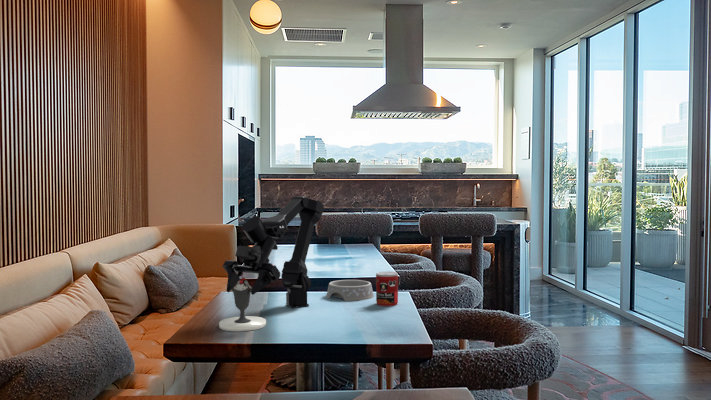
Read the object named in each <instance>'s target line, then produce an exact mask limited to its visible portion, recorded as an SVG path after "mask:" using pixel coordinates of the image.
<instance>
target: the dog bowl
mask: <svg viewBox="0 0 711 400" xmlns="http://www.w3.org/2000/svg"><path fill="white" fill-rule="evenodd" d="M332 295H333V297H335V298H339V299H343V301H345V302H358V301H367V300H371V299H373V298H374V297H375V295H374V290H373V287H372V283H371V282H370V281H368V280H362V279H341V280H340V279H339V280H333V281H330V282H329V283H328V286H327V291H326V296H325V297H326V298H327V299H330V298H331V296H332Z"/></svg>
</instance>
